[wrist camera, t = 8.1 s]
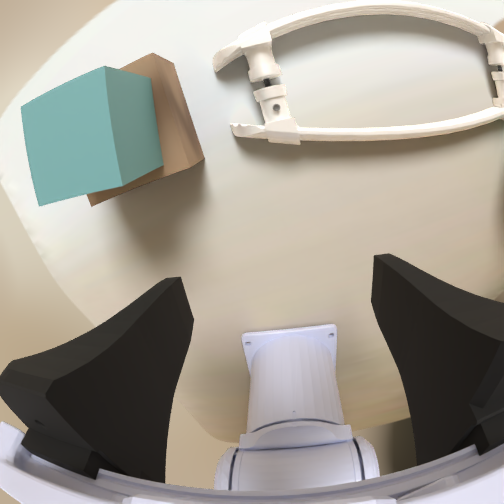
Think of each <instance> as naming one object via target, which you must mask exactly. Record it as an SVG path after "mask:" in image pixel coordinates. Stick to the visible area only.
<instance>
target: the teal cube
mask: <svg viewBox="0 0 504 504" xmlns="http://www.w3.org/2000/svg"><path fill="white" fill-rule="evenodd" d="M21 114H22V122H23V130H24V137H25V144H26V150H27V155H28V161H29V166H30V171H31V176H32V180H33V184H34V189H35V193H36V197H37V201H38V204H39V206H43V205H46V204H50V203H54V202H57V201H61V200H65V199H69V198H73V197H77V196H81V195H85V194H89V193H93V192H98V191H102V190H107V189H111V188H116V187H121V186H124V185H126V184H128V183H129V182H131V181H133V180H135V179H137V178H139V177H141V176H143V175H145V174H147V173H149V172H151V171H153V170H155V169H157V168H159V167H161V166H163V165H164V164H163V158H162V152H161V146H160V140H159V134H158V128H157V121H156V114H155V107H154V100H153V92H152V84H151V78H149V77H145V76H142V75H138V74H134V73H131V72H127V71H123V70H119V69H115V68H111V67H107V66H103V67H100V68H98V69H95V70H93V71H91V72H88V73H86V74H84V75H81V76H79V77H77V78H75V79H72V80H70V81H68V82H66V83H64V84H62V85H60V86H58V87H56V88H54V89H52V90H50V91H48V92H46V93H44V94H43V95H41V96H39V97H37V98H35V99H33V100H32V101H30V102H28V103H27V104H25V105H23V106H22V107H21Z"/></svg>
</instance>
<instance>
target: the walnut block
mask: <svg viewBox="0 0 504 504" xmlns="http://www.w3.org/2000/svg"><path fill="white" fill-rule="evenodd" d="M119 70H123V71H127V72H131V73H134V74H138V75H142V76H145V77H149V78H151V84H152V92H153V100H154V107H155V114H156V121H157V128H158V134H159V140H160V146H161V152H162V158H163V164H164V165H163V166H161V167H159V168H157V169H155V170H153V171H151V172H149V173H147V174H145V175H143V176H141V177H139V178H137V179H135V180H133V181H131V182H129V183H128V184H126V185H124V186H121V187H116V188H111V189H107V190H102V191H98V192H93V193H89V194H87V197H88V199H89V202H90V204H91V207H92V206H94V205H96V204H99V203H101V202H103V201H105V200H108V199H110V198H112V197H115V196H117V195H120V194H122V193H124V192H127V191H129V190H132V189H134V188H137V187H139V186H142V185H144V184H147V183H150V182H152V181H155V180H157V179H160V178H163V177H165V176H168V175H171V174H174V173H177V172H179V171H182V170H185V169H188V168H191V167H192V166H194V165H195V164H197V163H198V162H200V161H201V160H203V159H205V158H204V155H203V152H202V149H201V146H200V143H199V140H198V137H197V134H196V131H195V128H194V125H193V122H192V119H191V116H190V113H189V110H188V107H187V104H186V100H185V97H184V94H183V91H182V88H181V85H180V82H179V79H178V76H177V73H176V70H175V67H174V63H172V62H170V61H168V60H166V59H164V58H162V57H160V56H158V55H156V54H154V53H151V54H149V55H146V56H144V57H142V58H140V59H138V60H136V61H134V62H132V63H130V64H128V65H126V66H124V67H122V68H121V69H119Z"/></svg>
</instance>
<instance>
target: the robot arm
mask: <svg viewBox="0 0 504 504" xmlns="http://www.w3.org/2000/svg"><path fill="white" fill-rule="evenodd" d="M371 303H372V306H373V310H374V313H375V316H376V319H377V322H378V325H379V327H380V329H381V331H382V334H383V336H384V338H385V340H386V342H387V345H388V347H389V349H390V351H391V354H392V356H393V358H394V360H395V363H396V365H397V367H398V370H399V373H400V375H401V379H402V382H403V386H404V390H405V393H406V397H407V402H408V406H409V411H410V415H411V420H412V426H413V433H414V439H415V448H416V458H417V466H416V467H413V468H410V469H406V470H403V471H399V472H396V473H392V474H388V475H384V476H380V474H379V466H378V461H377V457H376V454H375V451H374V448H373V446H372V445H371V443H369V442H368V441H367V440H365V438H363V437H362V436H357V437H352V431H351V426H350V425H345V424H344V418H343V412H342V407H341V401H340V396H339V391H338V386H337V381H336V376H335V367H336V348H337V327H336V325H334V324H326V325H319V326H310V327H301V328H292V329H282V330H272V331H260V332H248V333H244V334H242V338H241V340H242V344H243V349H244V353H245V357H246V361H247V365H248V369H249V373H250V378H251V381H250V394H249V406H248V419H247V432H246V434H240V440H239V447H230V448H229V449H227V451H226V452H225V453H224V454H223V455H222V456H221V458H220V459H219V462H218V465H217V469H216V473H215V481H214V489H203V488H193V487H185V486H177V485H171V484H165V466H166V449H167V437H168V429H169V421H170V414H171V409H172V403H173V397H174V393H175V389H176V386H177V382H178V379H179V376H180V373H181V370H182V367H183V364H184V361H185V357H186V354H187V351H188V348H189V345H190V341H191V336H192V330H193V323H194V318H193V315H192V312H191V309H190V305H189V302H188V299H187V296H186V293H185V289H184V286H183V283H182V279H181V277H173V278H166V279H164V280H162V281H160V282H159V283H157V284H156V285H155V286H153V287H152V288H151V289H149V290H148V291H147V292H145V293H144V294H143V295H141V296H140V297H139V298H137V299H136V300H135V301H134V302H132V303H131V304H130V305H128V306H127V307H125V308H124V309H123V310H121V311H120V312H118V313H117V314H116V315H114V316H113V317H112V318H110V319H109V320H107V321H105V322H104V323H102V324H101V325H99V326H97V327H96V328H94V329H92V330H91V331H89V332H87V333H85V334H83V335H81V336H79V337H77V338H75V339H73V340H71V341H69V342H67V343H65V344H62V345H60V346H57V347H55V348H52V349H50V350H47V351H44V352H42V353H38V354H35V355H32V356H28V357H24V358H21V359H17V360H13V361H11V362H10V363H9V364H8V366H7V367H6V368H5V370H4V371H3V372H2V374H1V375H0V396H1V398H2V399H3V400H4V402H5V403H6V404H7V405H8V406H9V408H10V409H11V410H12V411H13V412H14V413H15V414H16V415H17V416H18V418H19V419H20V420H21V421H22V422H23V423H24V424H25V425H26V426H27V427H28V428H29V429H28V431H27V432H26V434H25V433H24V432H22V431H21V430H19V429H18V428H16V427H13V426H12V425H10V424H8V423H6V422H1V424H0V488H1V489H3V490H4V491H5V492H6V493H8V494H9V495H10V496H12V497H13V498H15V499H16V500H17V501H19V502H20V503H21V504H504V303H501V302H497V301H494V300H491V299H487V298H484V297H481V296H478V295H475V294H472V293H469V292H467V291H464V290H462V289H459V288H457V287H455V286H452V285H450V284H448V283H446V282H444V281H442V280H440V279H438V278H436V277H434V276H432V275H430V274H428V273H426V272H424V271H422V270H420V269H419V268H417V267H415V266H413V265H411V264H409V263H408V262H406V261H404V260H402V259H400V258H398V257H396V256H394V255H391V254H382V255H374V265H373V282H372V296H371ZM331 333H333V334H332V335H329V334H331ZM247 342H250V343H247ZM396 500H397V501H396Z"/></svg>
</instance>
